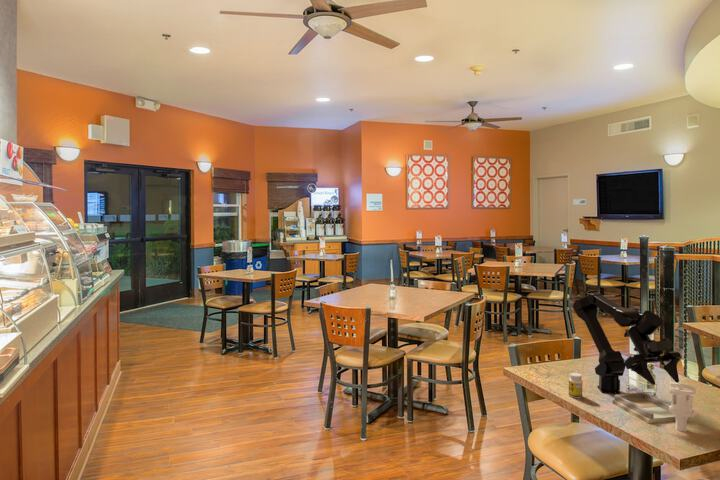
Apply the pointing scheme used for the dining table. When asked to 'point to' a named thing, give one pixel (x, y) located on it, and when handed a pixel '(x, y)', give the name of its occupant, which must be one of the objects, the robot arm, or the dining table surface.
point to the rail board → (644, 407)
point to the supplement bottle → (575, 385)
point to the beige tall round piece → (681, 404)
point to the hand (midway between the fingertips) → (666, 383)
